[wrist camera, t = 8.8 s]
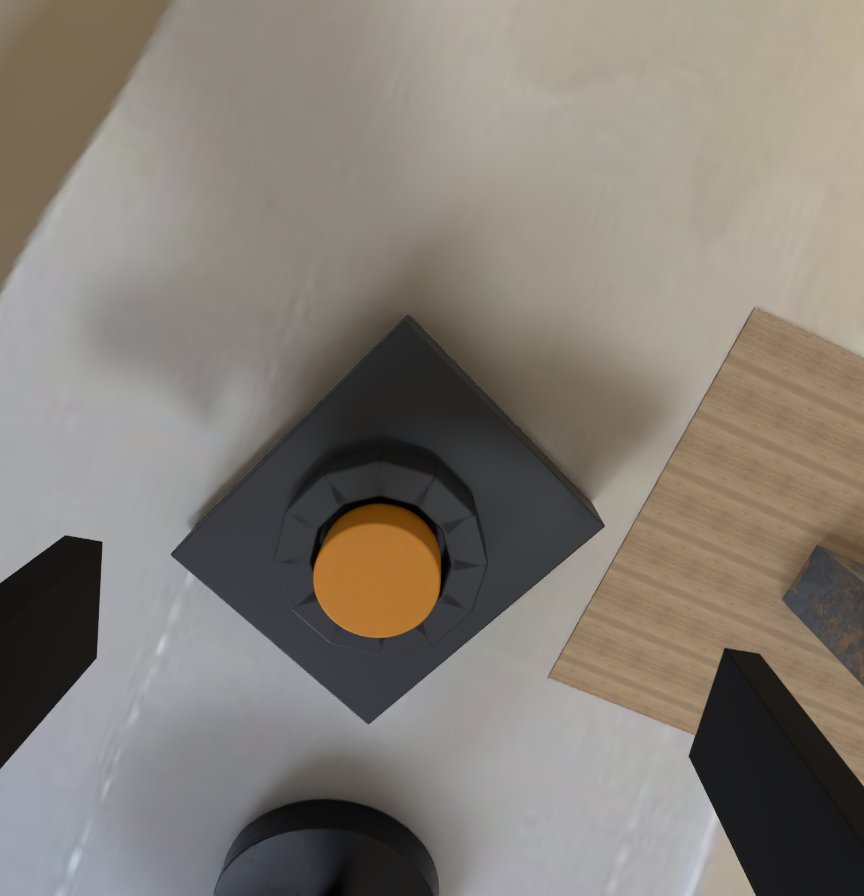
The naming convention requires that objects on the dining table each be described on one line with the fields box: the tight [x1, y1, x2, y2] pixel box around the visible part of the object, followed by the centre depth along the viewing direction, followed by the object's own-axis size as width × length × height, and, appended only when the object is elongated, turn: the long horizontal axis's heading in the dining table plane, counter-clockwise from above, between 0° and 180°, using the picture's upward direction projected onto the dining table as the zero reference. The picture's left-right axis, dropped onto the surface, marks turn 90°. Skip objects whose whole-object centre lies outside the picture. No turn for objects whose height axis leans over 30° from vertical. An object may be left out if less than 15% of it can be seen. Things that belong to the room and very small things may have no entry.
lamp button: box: [313, 503, 441, 638], centre depth 22 cm, size 4×4×2 cm
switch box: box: [171, 315, 605, 724], centre depth 25 cm, size 10×12×4 cm
